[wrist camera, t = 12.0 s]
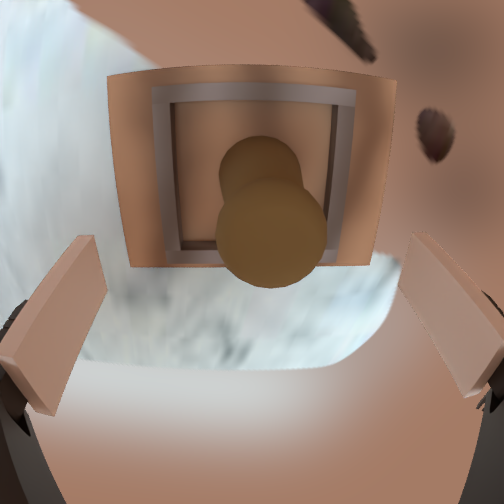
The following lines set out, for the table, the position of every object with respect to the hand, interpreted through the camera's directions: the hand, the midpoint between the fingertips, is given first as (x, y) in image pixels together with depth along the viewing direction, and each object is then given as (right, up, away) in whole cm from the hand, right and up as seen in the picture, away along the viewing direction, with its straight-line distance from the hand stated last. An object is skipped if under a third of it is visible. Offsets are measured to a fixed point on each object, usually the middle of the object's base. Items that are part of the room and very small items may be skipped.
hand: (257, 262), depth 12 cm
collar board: (0, +7, +11) cm, 13 cm away
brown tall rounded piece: (0, +6, +11) cm, 12 cm away
